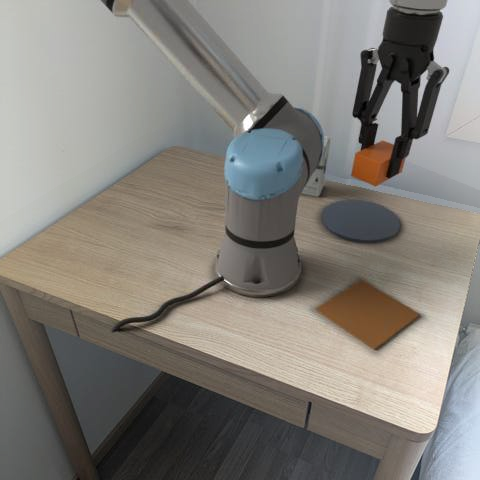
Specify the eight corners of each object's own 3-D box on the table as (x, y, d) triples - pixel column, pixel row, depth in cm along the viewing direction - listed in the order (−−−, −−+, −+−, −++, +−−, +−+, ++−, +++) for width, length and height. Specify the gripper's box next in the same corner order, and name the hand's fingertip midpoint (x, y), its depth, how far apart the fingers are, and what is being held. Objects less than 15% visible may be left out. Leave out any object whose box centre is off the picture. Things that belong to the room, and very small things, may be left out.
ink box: (281, 190, 111) (285, 139, 103) (287, 181, 114) (291, 130, 106) (319, 197, 109) (326, 145, 101) (324, 187, 112) (331, 136, 104)
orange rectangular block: (375, 186, 80) (381, 163, 77) (350, 176, 83) (355, 153, 80) (401, 172, 84) (408, 149, 82) (377, 162, 87) (382, 140, 84)
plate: (366, 252, 94) (367, 249, 93) (304, 218, 102) (305, 215, 102) (414, 223, 102) (415, 221, 101) (353, 194, 110) (354, 192, 110)
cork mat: (374, 350, 74) (375, 348, 74) (315, 310, 81) (315, 308, 81) (419, 316, 80) (420, 314, 80) (361, 281, 87) (361, 279, 87)
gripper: (491, 17, 65) (437, 181, 80) (375, -6, 74) (347, 146, 89) (465, 25, 60) (413, 196, 76) (346, 0, 70) (321, 157, 85)
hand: (377, 168), depth 83 cm, fingers closed on orange rectangular block, 5 cm apart
